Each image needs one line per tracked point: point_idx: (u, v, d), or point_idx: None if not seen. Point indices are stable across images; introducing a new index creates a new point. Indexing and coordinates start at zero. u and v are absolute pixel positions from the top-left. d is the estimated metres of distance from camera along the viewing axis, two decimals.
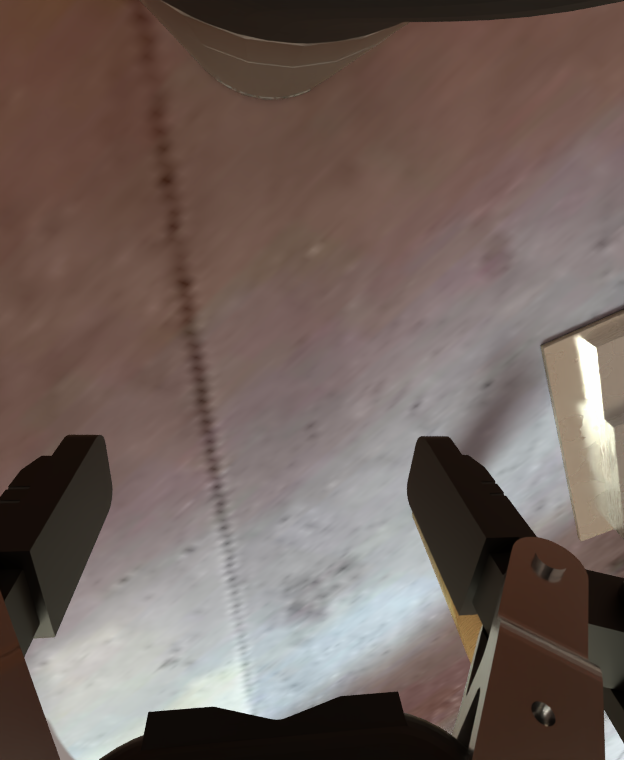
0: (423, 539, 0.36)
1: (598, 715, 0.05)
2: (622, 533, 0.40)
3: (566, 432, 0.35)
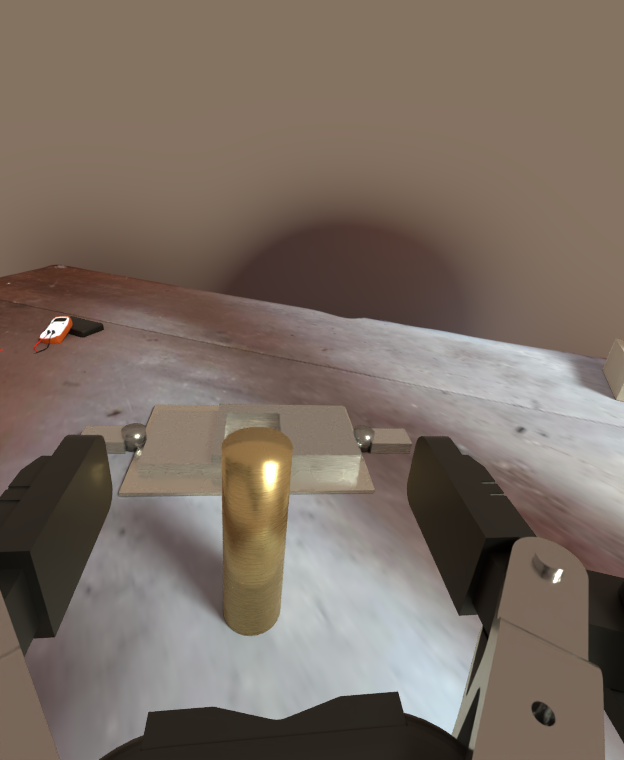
0: (240, 604, 0.28)
1: (598, 715, 0.05)
2: (352, 457, 0.44)
3: (218, 488, 0.41)
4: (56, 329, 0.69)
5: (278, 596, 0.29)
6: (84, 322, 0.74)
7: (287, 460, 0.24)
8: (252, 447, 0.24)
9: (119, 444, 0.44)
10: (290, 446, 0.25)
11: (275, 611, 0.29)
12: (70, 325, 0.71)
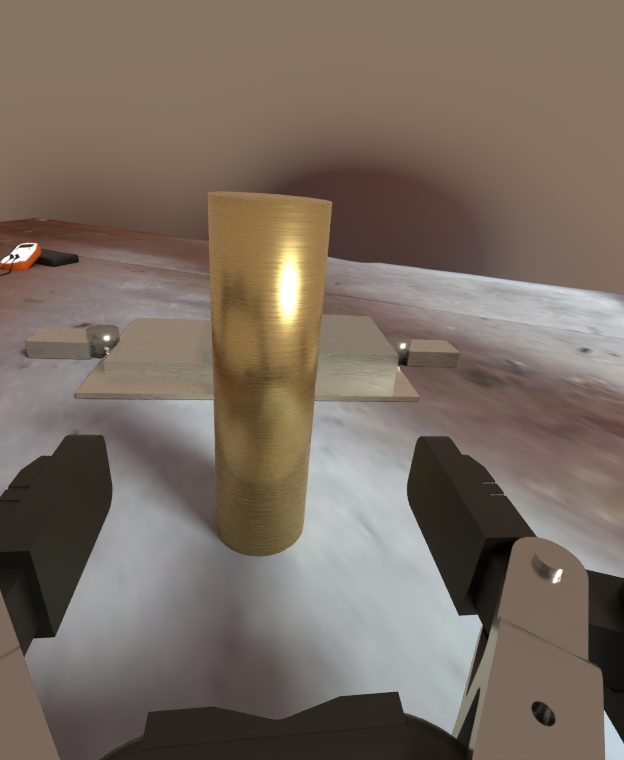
0: (242, 499, 0.17)
1: (598, 715, 0.05)
2: (388, 359, 0.34)
3: (212, 390, 0.30)
4: (21, 255, 0.59)
5: (302, 493, 0.18)
6: (56, 253, 0.64)
7: (324, 207, 0.13)
8: (263, 196, 0.14)
9: (83, 346, 0.34)
10: (327, 201, 0.14)
11: (298, 518, 0.19)
12: (38, 252, 0.61)
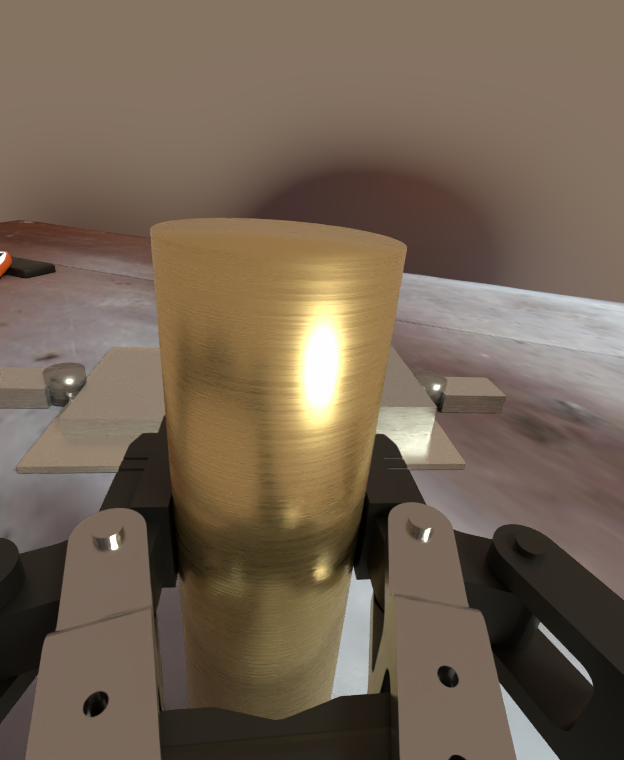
0: None
1: (488, 656, 0.06)
2: (423, 411, 0.27)
3: None
4: None
5: None
6: (29, 263, 0.57)
7: (398, 261, 0.06)
8: (266, 234, 0.07)
9: (38, 393, 0.27)
10: (394, 241, 0.07)
11: None
12: (8, 262, 0.54)
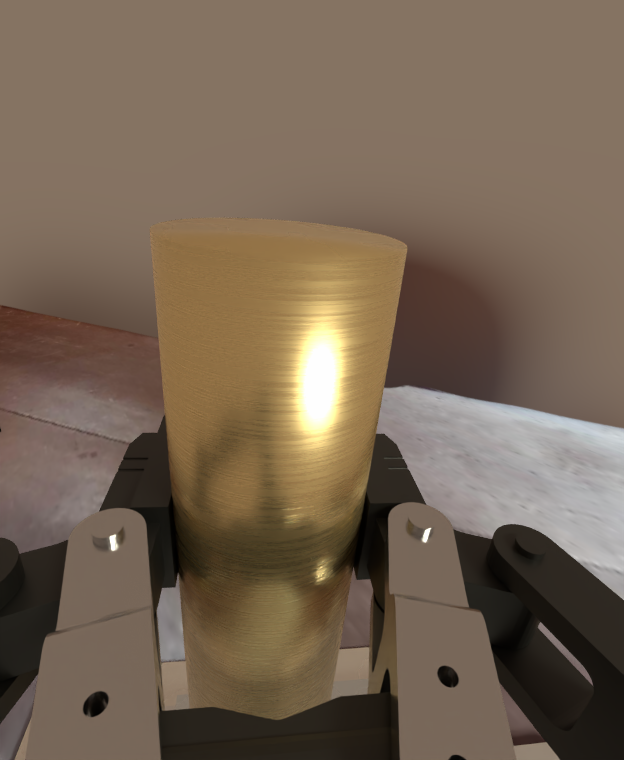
0: None
1: (487, 656, 0.06)
2: None
3: None
4: None
5: None
6: None
7: (399, 261, 0.06)
8: (266, 234, 0.07)
9: None
10: (395, 241, 0.07)
11: None
12: None
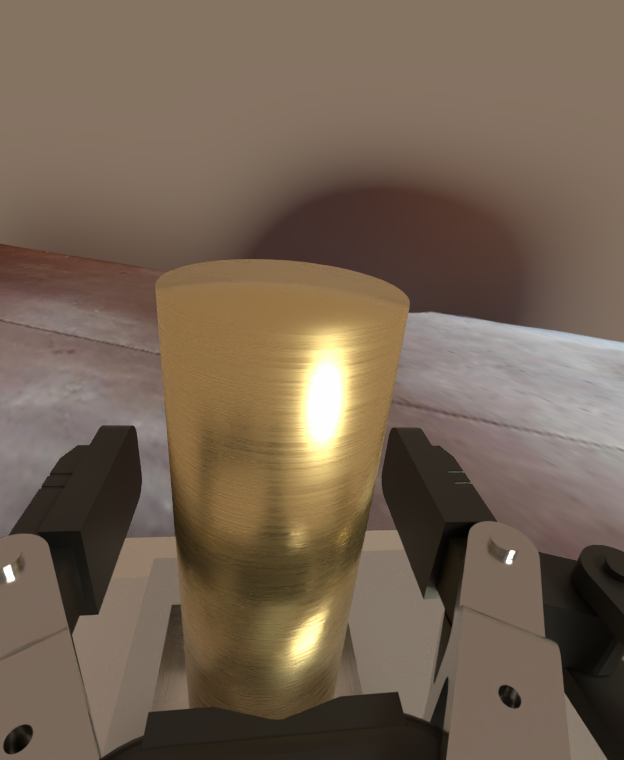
0: None
1: (558, 689, 0.05)
2: None
3: None
4: None
5: None
6: None
7: (401, 321, 0.06)
8: (270, 288, 0.07)
9: None
10: (397, 292, 0.07)
11: None
12: None
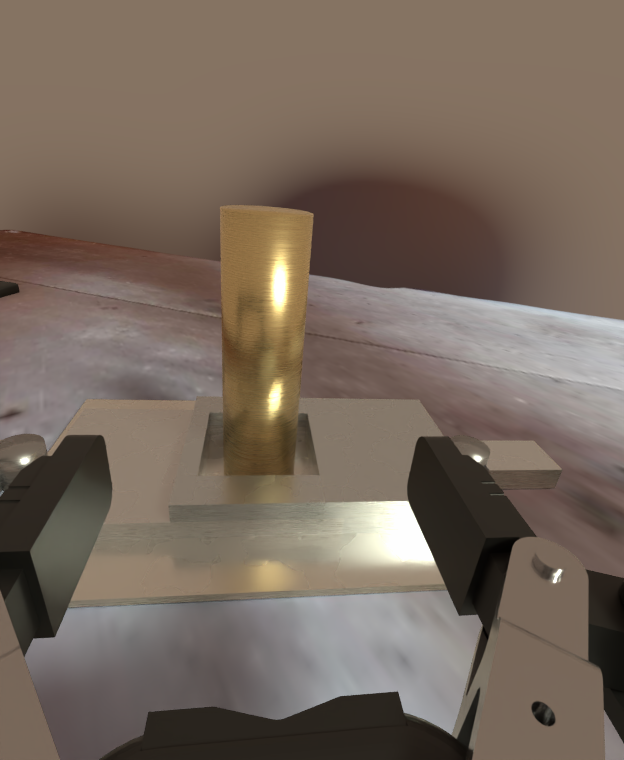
0: (244, 446, 0.22)
1: (598, 715, 0.05)
2: None
3: (182, 584, 0.18)
4: None
5: (292, 444, 0.23)
6: None
7: (306, 218, 0.18)
8: (261, 210, 0.18)
9: None
10: (310, 213, 0.19)
11: (289, 465, 0.23)
12: None
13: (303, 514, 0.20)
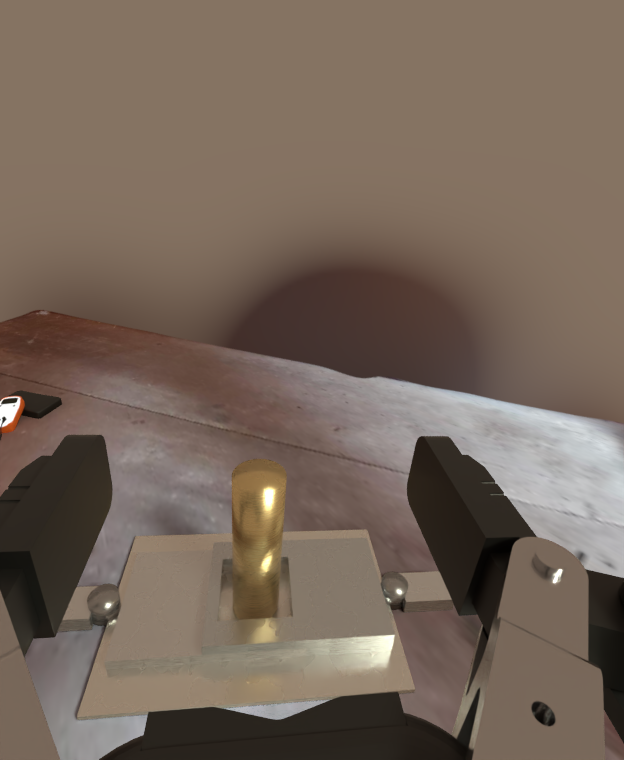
0: (246, 598, 0.35)
1: (598, 716, 0.05)
2: (384, 637, 0.34)
3: (211, 697, 0.31)
4: (7, 414, 0.59)
5: (276, 592, 0.36)
6: (38, 399, 0.64)
7: (281, 486, 0.31)
8: (256, 477, 0.32)
9: (84, 621, 0.34)
10: (284, 475, 0.32)
11: (274, 604, 0.36)
12: (22, 406, 0.61)
13: (282, 647, 0.33)
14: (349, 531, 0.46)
